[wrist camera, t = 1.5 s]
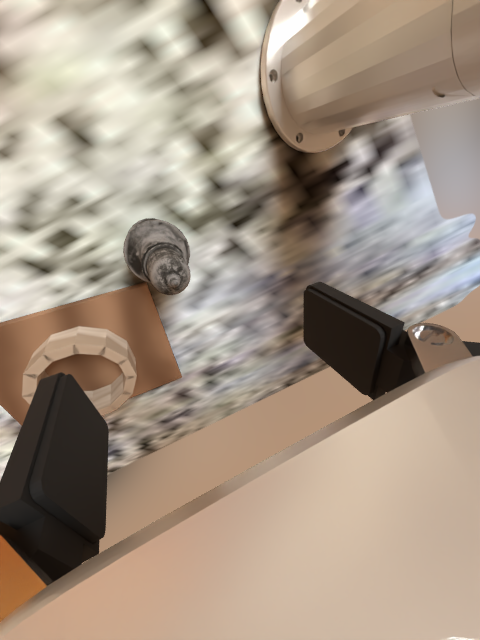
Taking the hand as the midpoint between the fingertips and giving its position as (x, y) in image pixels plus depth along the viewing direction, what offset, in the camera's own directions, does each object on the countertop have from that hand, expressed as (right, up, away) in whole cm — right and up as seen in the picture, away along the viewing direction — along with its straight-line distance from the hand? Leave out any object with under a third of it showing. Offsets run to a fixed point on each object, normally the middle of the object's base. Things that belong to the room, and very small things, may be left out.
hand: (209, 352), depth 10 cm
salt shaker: (-8, +9, +16) cm, 20 cm away
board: (-16, -3, +18) cm, 25 cm away
